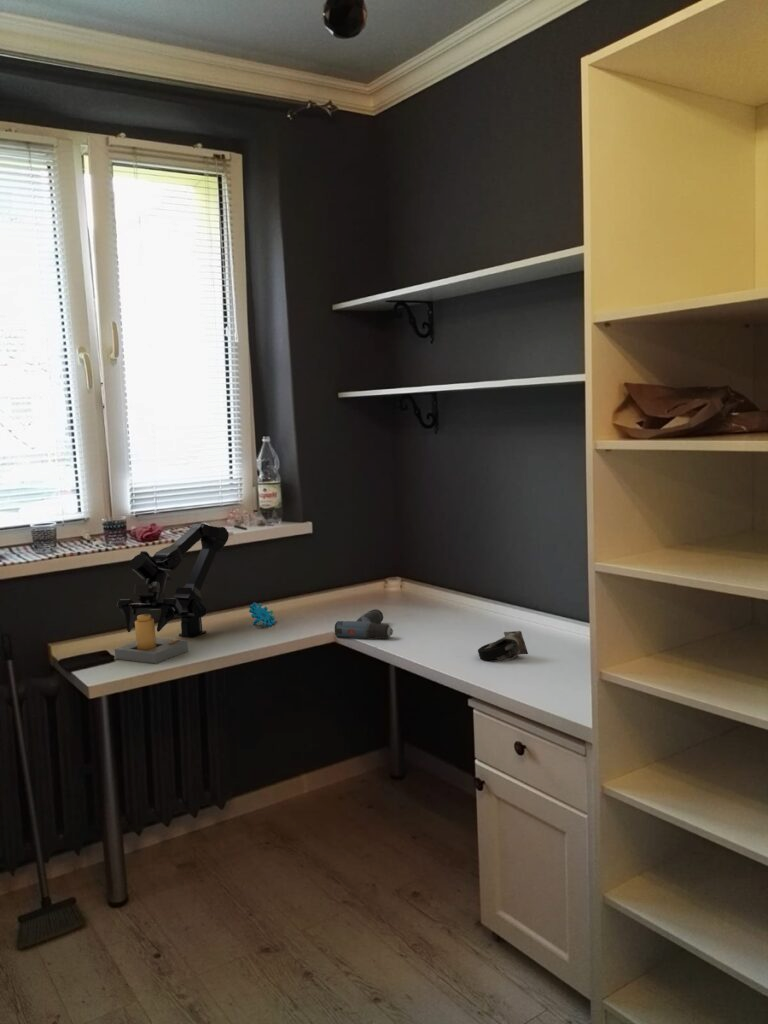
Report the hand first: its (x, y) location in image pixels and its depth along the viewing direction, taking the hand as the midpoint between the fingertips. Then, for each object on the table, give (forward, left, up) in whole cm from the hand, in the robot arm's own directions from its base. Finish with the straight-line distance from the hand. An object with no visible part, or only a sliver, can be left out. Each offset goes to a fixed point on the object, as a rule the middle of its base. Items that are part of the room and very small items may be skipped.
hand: (143, 631), depth 257 cm
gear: (-43, +12, -8) cm, 46 cm away
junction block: (-3, 0, -8) cm, 9 cm away
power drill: (-47, +52, -9) cm, 71 cm away
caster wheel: (-31, +100, -8) cm, 105 cm away
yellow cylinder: (-1, 0, -8) cm, 8 cm away
